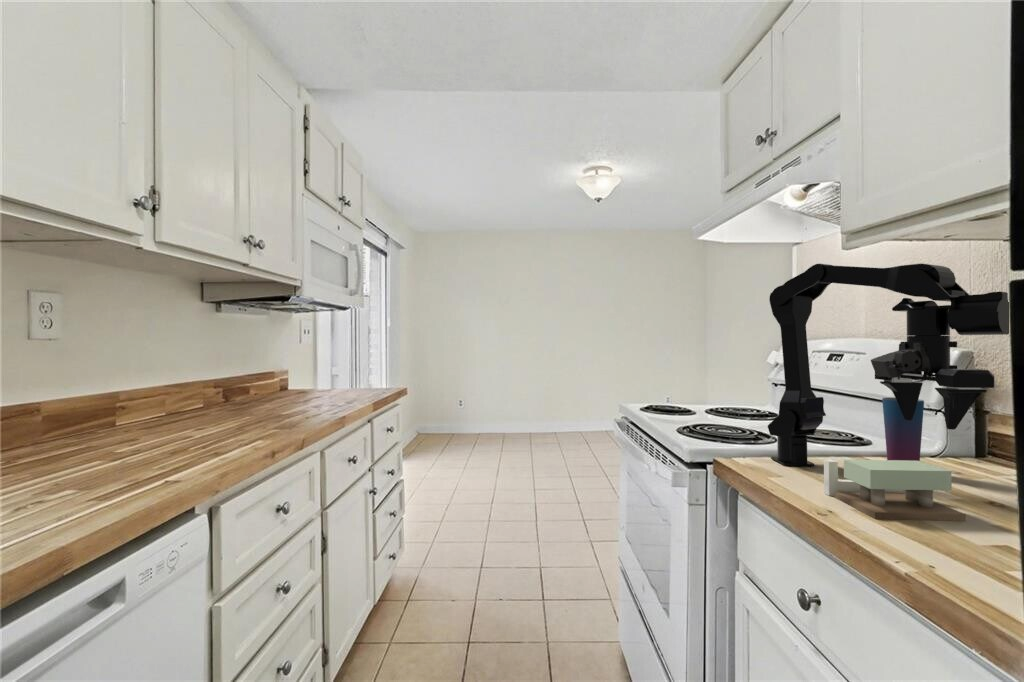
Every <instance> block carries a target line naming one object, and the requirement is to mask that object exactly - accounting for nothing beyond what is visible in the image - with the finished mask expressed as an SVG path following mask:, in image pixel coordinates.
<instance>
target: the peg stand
mask: <svg viewBox="0 0 1024 682" xmlns="http://www.w3.org/2000/svg"><path fill="white" fill-rule="evenodd" d="M834 498H835V499H836V500H839V501H841V502H842V503H845V504H847V505H848V506H850V507H852V508H854V509H856V510H858V511H860V512H861V513H863V514H865V515H867V516H869V517H871V518H873V519H875V520H908V521H909V520H914V521H915V520H917V521H920V520H921V521H955V522H956V521H957V522H958V521H960V522H966V521H967V520H966V518H967V516H966V513H963V512H961V511H958V510H956V509H954V508H951V507H949V506H946V505H944V504H942V503H939V502H936V501H934V490H905V493H885V489H869V488H867V487H865V486H862V485H860V492H835V496H834ZM963 520H964V521H963ZM965 520H966V521H965Z"/></svg>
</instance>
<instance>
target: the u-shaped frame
mask: <svg viewBox="0 0 1024 682" xmlns="http://www.w3.org/2000/svg"><path fill="white" fill-rule="evenodd" d="M835 492H860V484H858V483H856V482H853V481H851V480H849V479H839V462H838V461H836V460H834V459H823V494H825V495H827V496H829V497H835ZM885 493H905V490H896V489H885Z"/></svg>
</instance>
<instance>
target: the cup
mask: <svg viewBox="0 0 1024 682" xmlns="http://www.w3.org/2000/svg"><path fill="white" fill-rule="evenodd" d="M881 400H882V413H883V426H884V437H885V449H886V450H885V451H886V459H887V460H908V461H920V460H921V448H922V435H923V424H924V423H923V422H924V421H923V420H924V408H925V400H924V399H920V398H919V399H918V403H917V406H916V410H915V414H914V416H913V419H912V420H905V419H904V417H903V415H902V412H901V410H900V407H899V405H898V402H897V400H896V398H895V396H893V397H892V396H891V397H882V399H881Z"/></svg>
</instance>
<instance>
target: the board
mask: <svg viewBox="0 0 1024 682" xmlns="http://www.w3.org/2000/svg"><path fill="white" fill-rule="evenodd" d="M843 478H844V479H846V480H851V481H853V482H856V483H858V484H860V485H862V486H865V487H867V488H869V489H896V490H933V491H952V490H953V489H952V482H953V481H952V470H949V469H946V468H942V467H939V466H936V465H934V464H933V465H932V464H929V463H927V462H923V461H908V460H886V459H843Z"/></svg>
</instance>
